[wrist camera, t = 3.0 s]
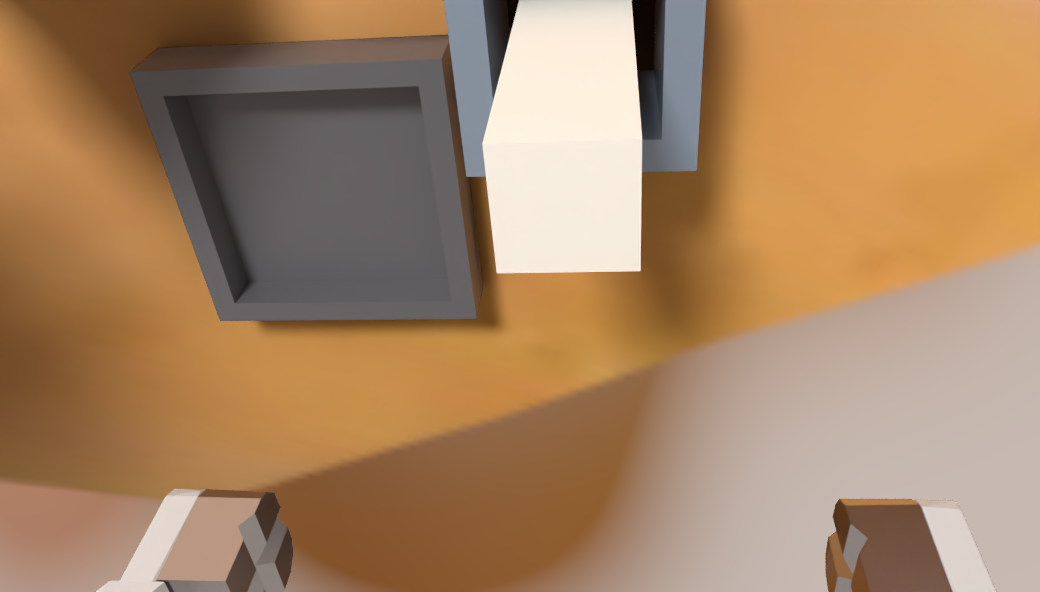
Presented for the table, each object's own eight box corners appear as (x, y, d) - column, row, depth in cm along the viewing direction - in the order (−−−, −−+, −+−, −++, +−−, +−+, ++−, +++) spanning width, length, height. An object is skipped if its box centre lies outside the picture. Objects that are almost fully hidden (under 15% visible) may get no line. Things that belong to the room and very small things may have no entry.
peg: (530, -45, 31) (481, 143, 19) (627, -50, 30) (641, 138, 18) (536, 49, 33) (496, 273, 21) (627, 45, 32) (640, 271, 20)
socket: (463, -107, 30) (436, -62, 25) (693, -122, 29) (710, -78, 24) (485, 105, 34) (466, 177, 29) (683, 97, 33) (696, 170, 29)
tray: (157, 48, 34) (129, 72, 32) (451, 34, 33) (441, 58, 31) (238, 289, 41) (220, 321, 39) (483, 285, 40) (476, 318, 38)
